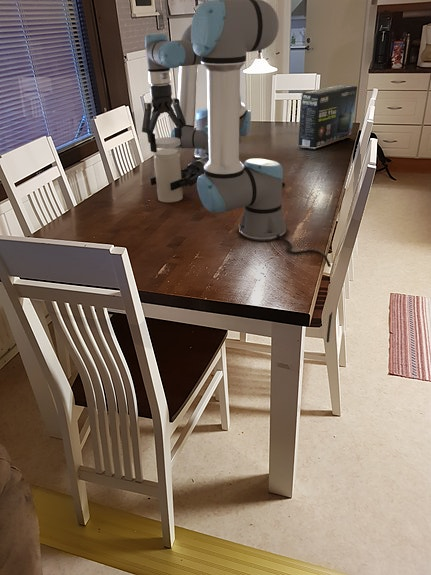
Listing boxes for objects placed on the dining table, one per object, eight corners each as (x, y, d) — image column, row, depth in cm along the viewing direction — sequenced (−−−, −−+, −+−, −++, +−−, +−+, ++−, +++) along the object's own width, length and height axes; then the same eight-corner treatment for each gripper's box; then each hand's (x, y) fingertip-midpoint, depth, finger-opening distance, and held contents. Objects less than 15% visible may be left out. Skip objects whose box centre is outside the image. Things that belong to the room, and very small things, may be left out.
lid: (145, 145, 170) (145, 141, 169) (167, 140, 176) (167, 135, 176) (164, 149, 163) (163, 145, 162) (186, 143, 170) (186, 139, 169)
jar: (186, 194, 184) (183, 148, 174) (178, 203, 175) (174, 155, 166) (163, 192, 186) (158, 147, 177) (154, 201, 178) (148, 154, 168)
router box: (314, 151, 231) (318, 94, 217) (296, 148, 237) (299, 92, 224) (352, 138, 251) (358, 85, 238) (335, 135, 258) (340, 83, 245)
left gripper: (221, 183, 185) (183, 199, 170) (180, 174, 197) (142, 188, 183) (220, 164, 181) (182, 179, 166) (178, 156, 193) (139, 169, 179)
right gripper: (138, 89, 150) (146, 156, 161) (192, 81, 163) (196, 144, 174) (126, 87, 155) (134, 153, 166) (180, 80, 168) (184, 141, 179)
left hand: (161, 184), depth 174 cm, fingers closed on jar, 10 cm apart
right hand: (166, 148), depth 170 cm, fingers closed on lid, 11 cm apart
